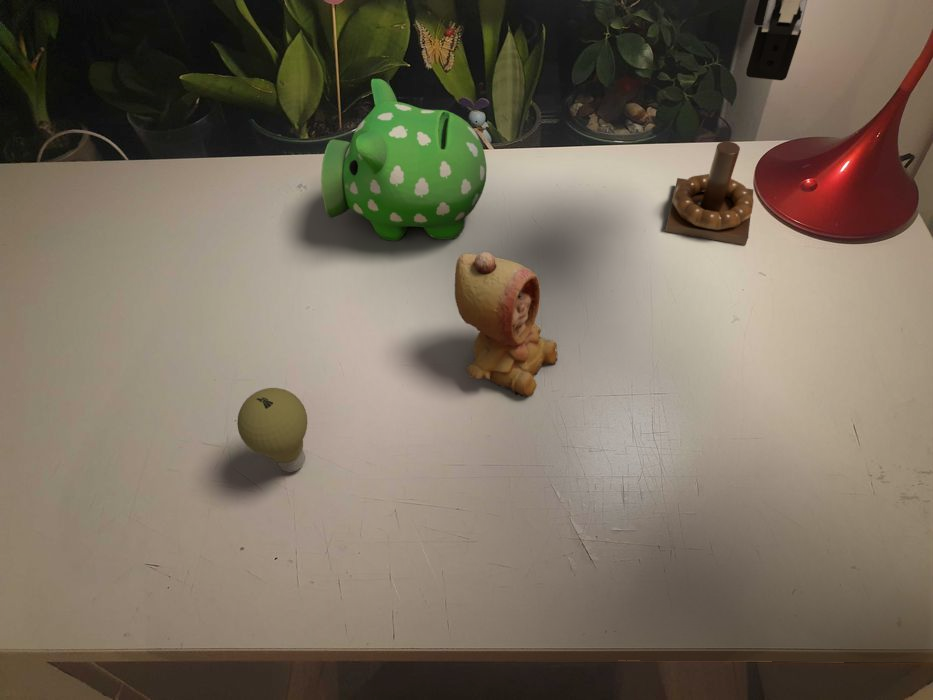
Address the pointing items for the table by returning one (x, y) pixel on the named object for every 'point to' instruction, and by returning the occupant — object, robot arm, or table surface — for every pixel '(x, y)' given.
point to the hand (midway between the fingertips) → (768, 49)
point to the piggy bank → (405, 169)
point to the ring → (707, 217)
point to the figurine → (502, 321)
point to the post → (713, 200)
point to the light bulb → (274, 426)
